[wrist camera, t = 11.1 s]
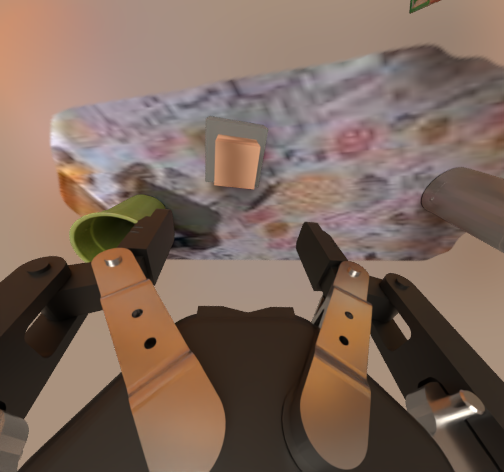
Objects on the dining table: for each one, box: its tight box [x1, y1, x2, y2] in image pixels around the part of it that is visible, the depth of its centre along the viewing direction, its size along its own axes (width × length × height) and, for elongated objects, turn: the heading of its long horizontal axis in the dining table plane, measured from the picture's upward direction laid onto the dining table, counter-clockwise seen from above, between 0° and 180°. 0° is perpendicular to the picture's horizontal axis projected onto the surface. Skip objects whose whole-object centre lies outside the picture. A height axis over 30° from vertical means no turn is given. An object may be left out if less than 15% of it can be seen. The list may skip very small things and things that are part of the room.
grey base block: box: [205, 116, 268, 187], centre depth 28 cm, size 8×8×5 cm
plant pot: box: [69, 195, 166, 263], centre depth 31 cm, size 12×12×11 cm
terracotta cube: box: [214, 134, 260, 189], centre depth 24 cm, size 5×5×5 cm
